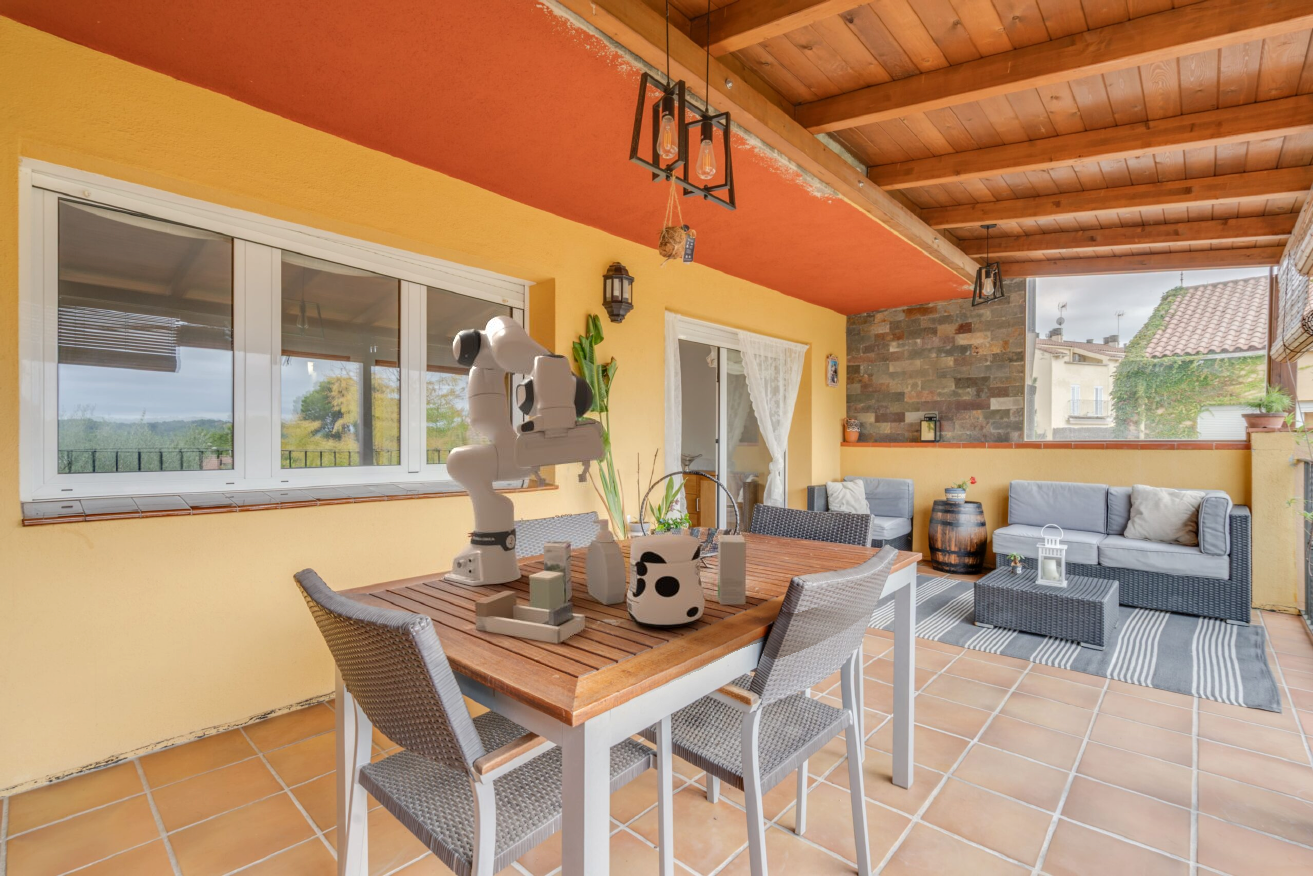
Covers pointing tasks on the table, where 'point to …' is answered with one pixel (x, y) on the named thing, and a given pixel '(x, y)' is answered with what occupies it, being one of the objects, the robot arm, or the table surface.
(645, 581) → the milk container
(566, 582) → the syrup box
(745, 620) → the table surface
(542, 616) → the frame
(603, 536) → the soap bottle
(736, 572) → the skincare box
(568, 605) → the block
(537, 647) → the table surface
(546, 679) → the table surface
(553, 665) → the table surface
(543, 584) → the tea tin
